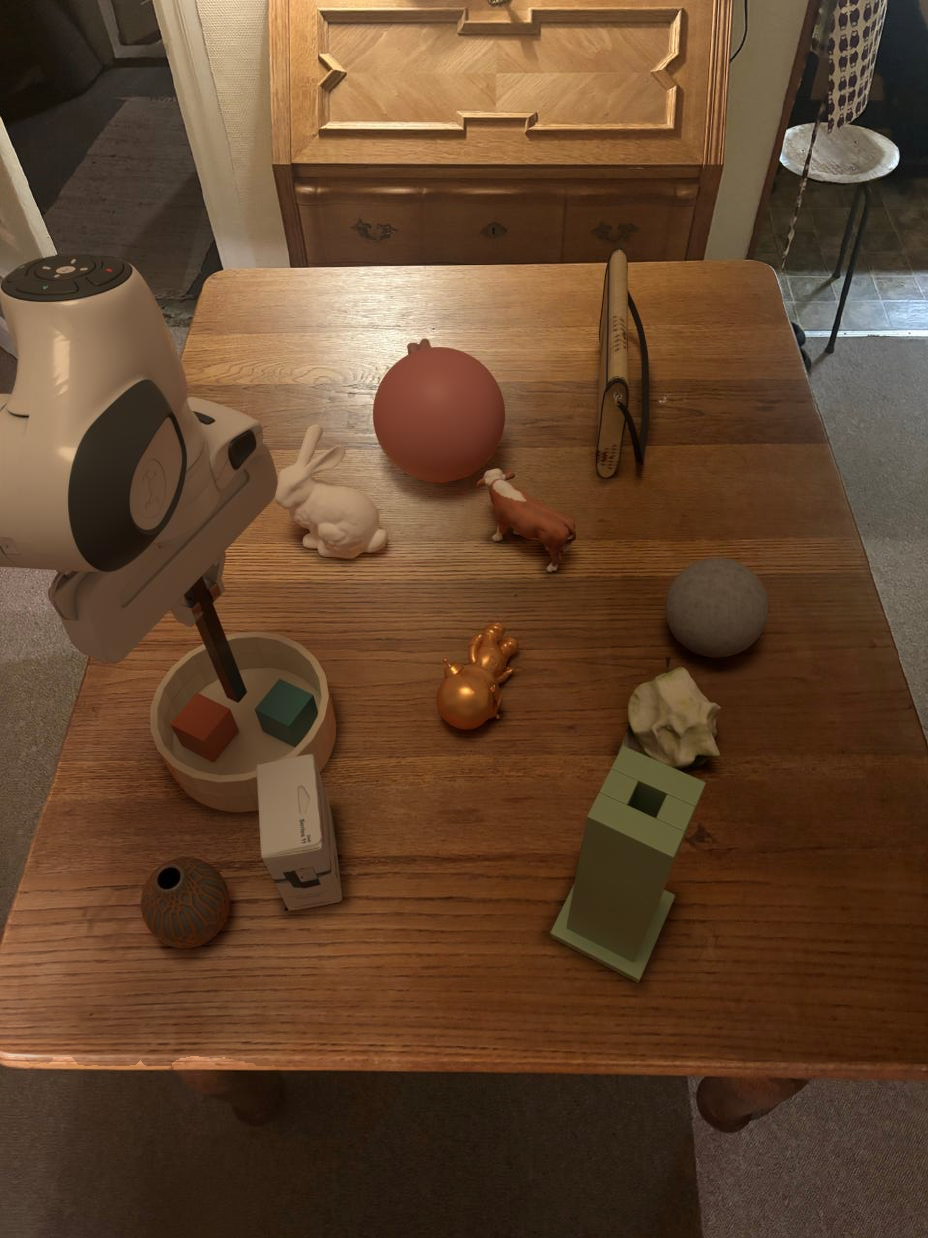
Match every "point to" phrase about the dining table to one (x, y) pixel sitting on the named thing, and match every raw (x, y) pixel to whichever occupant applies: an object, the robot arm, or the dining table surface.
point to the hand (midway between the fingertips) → (201, 606)
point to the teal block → (287, 712)
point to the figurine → (476, 680)
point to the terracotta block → (205, 727)
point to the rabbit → (328, 504)
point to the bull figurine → (528, 516)
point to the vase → (185, 902)
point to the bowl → (240, 717)
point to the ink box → (298, 832)
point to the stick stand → (628, 863)
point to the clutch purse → (618, 369)
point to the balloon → (438, 413)
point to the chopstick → (217, 643)
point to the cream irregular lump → (672, 721)
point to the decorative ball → (717, 607)
